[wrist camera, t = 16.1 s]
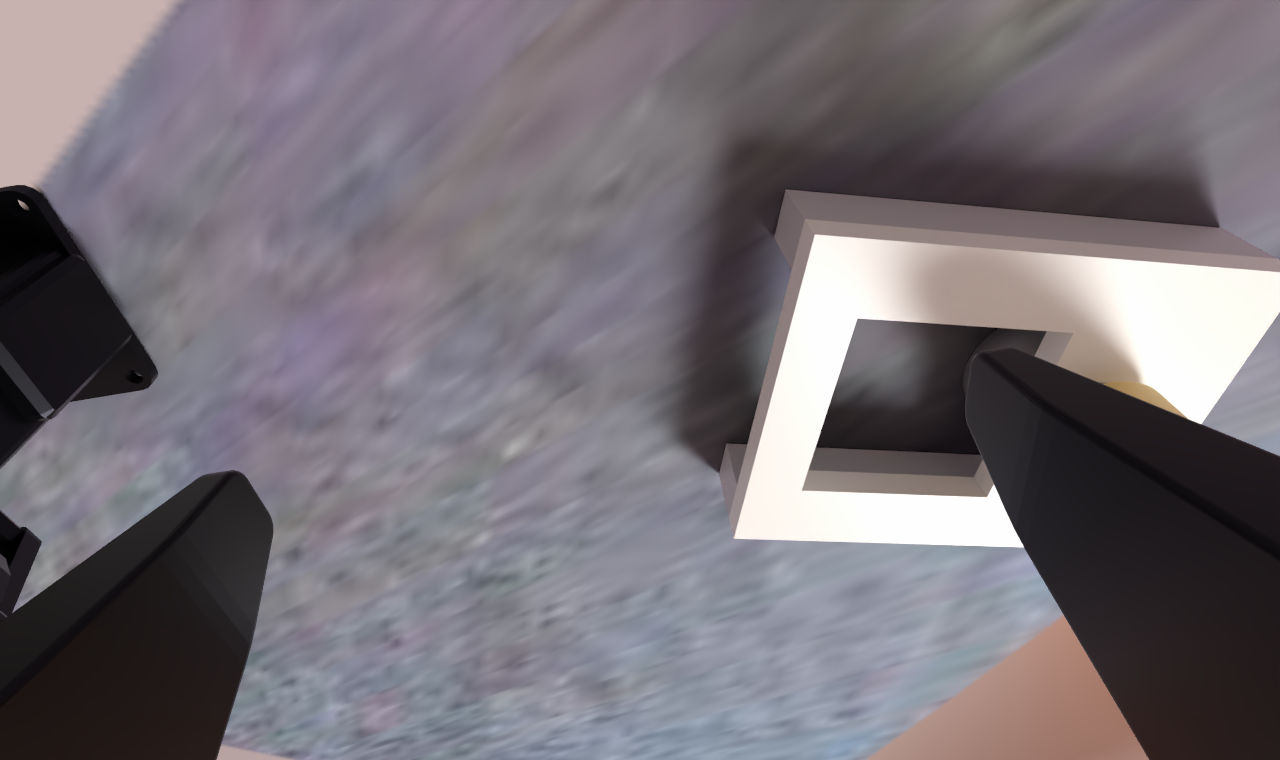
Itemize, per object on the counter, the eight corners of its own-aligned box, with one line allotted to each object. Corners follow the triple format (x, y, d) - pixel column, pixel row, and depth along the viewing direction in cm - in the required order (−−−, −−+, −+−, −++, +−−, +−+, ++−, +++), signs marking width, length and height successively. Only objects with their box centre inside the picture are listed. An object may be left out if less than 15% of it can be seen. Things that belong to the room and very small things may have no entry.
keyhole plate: (719, 474, 27) (733, 538, 24) (785, 189, 21) (814, 234, 18) (1064, 488, 29) (1113, 549, 26) (1221, 228, 22) (1305, 274, 20)
